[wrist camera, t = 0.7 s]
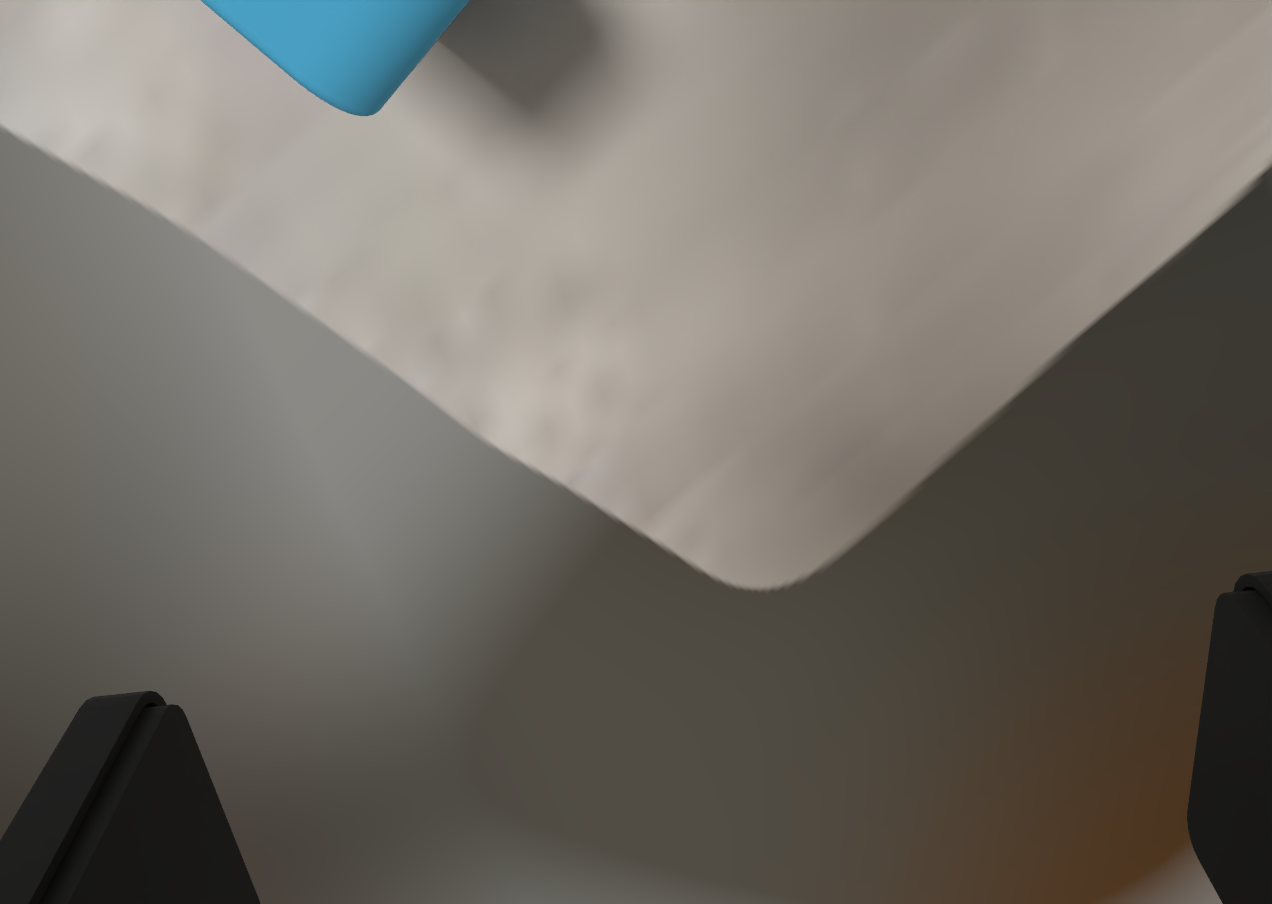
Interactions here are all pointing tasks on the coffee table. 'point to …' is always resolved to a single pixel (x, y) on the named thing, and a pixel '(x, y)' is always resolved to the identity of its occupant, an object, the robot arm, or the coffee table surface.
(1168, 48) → the coffee table surface
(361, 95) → the blue rounded block
